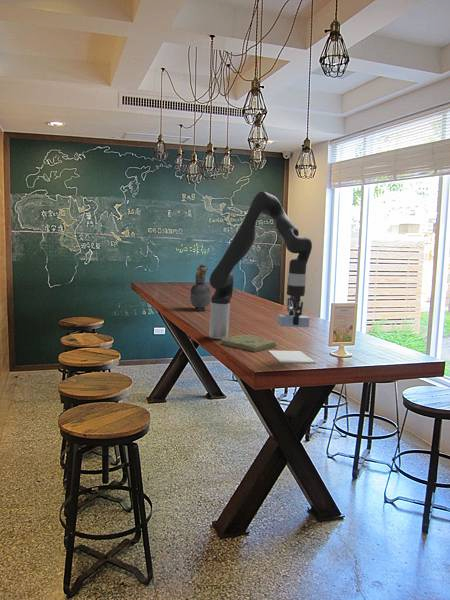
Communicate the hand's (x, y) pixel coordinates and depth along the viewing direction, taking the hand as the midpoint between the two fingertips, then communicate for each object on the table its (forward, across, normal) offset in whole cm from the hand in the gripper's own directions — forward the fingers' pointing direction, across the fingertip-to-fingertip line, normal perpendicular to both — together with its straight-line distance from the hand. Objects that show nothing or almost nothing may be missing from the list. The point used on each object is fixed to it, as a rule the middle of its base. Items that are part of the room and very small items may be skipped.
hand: (293, 323), depth 224 cm
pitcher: (+15, +126, +23) cm, 129 cm away
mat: (+15, 0, 0) cm, 15 cm away
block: (+1, 0, 0) cm, 1 cm away
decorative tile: (+16, +22, +13) cm, 30 cm away
